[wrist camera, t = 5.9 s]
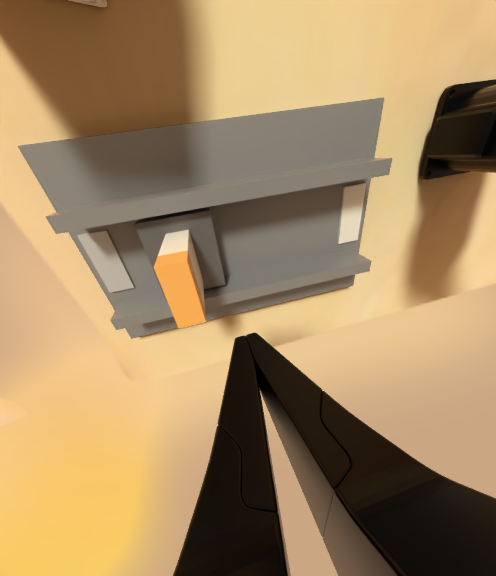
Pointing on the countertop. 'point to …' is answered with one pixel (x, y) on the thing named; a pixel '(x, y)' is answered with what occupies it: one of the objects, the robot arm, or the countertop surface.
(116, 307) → the housing
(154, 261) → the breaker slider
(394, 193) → the countertop surface
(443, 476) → the robot arm
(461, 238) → the countertop surface
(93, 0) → the light bulb box
